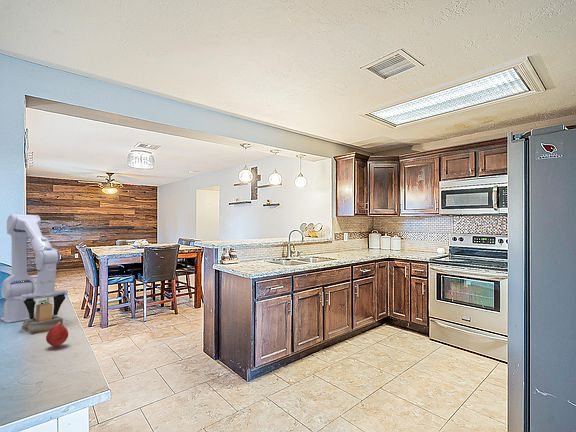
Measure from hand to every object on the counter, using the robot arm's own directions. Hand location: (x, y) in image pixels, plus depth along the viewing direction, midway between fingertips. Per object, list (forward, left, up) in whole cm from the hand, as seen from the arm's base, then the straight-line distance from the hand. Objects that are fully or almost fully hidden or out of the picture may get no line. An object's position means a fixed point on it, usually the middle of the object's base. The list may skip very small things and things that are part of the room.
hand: (43, 316), depth 122 cm
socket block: (0, 0, -4) cm, 4 cm away
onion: (+27, -4, -5) cm, 27 cm away
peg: (0, 0, -3) cm, 3 cm away
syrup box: (-49, +14, -5) cm, 52 cm away
